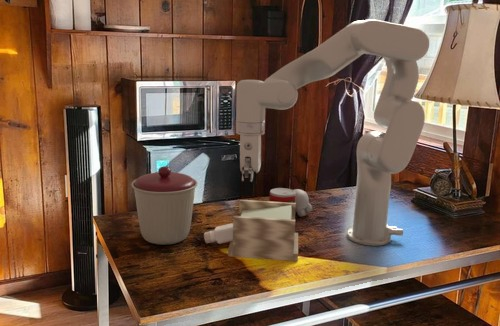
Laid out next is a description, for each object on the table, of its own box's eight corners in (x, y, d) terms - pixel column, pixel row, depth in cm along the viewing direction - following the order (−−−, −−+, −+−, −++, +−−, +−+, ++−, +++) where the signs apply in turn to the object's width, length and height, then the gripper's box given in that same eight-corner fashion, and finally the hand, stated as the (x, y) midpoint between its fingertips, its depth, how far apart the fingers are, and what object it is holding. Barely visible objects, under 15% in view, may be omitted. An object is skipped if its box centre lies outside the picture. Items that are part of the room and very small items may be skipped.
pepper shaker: (237, 221, 138) (205, 228, 139) (234, 226, 134) (202, 234, 136) (241, 234, 138) (209, 241, 140) (239, 239, 135) (206, 247, 136)
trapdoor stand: (297, 239, 143) (299, 203, 140) (297, 261, 129) (299, 221, 126) (234, 235, 145) (235, 199, 142) (227, 256, 130) (228, 217, 128)
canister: (129, 229, 146) (127, 160, 141) (189, 224, 152) (189, 157, 147) (137, 254, 130) (135, 177, 125) (204, 246, 136) (204, 172, 131)
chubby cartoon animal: (275, 221, 164) (268, 199, 161) (304, 204, 168) (297, 182, 165) (287, 228, 158) (279, 206, 155) (316, 210, 162) (309, 188, 159)
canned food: (292, 230, 149) (294, 196, 147) (266, 228, 151) (267, 193, 148) (295, 222, 157) (297, 189, 154) (270, 219, 158) (271, 186, 155)
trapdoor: (292, 211, 140) (291, 205, 139) (291, 227, 128) (290, 219, 128) (243, 217, 142) (242, 210, 141) (238, 232, 130) (237, 225, 129)
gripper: (262, 134, 120) (260, 201, 125) (266, 123, 137) (265, 182, 141) (231, 133, 121) (230, 199, 125) (239, 122, 138) (239, 180, 142)
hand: (249, 190), depth 133 cm, fingers open, 9 cm apart
